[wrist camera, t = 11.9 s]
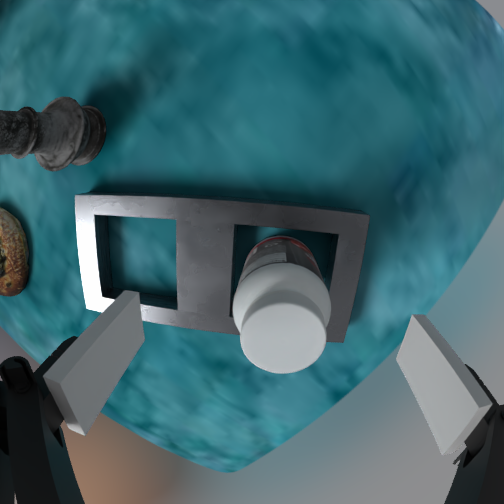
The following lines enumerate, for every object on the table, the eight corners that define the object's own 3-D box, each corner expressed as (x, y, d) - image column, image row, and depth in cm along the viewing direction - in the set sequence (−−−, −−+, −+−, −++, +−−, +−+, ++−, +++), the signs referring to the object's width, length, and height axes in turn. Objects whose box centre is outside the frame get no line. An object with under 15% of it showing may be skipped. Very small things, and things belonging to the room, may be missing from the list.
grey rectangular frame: (97, 299, 24) (86, 308, 22) (88, 192, 21) (74, 195, 19) (339, 329, 23) (343, 342, 21) (361, 210, 20) (370, 215, 18)
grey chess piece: (104, 169, 21) (-12, 187, 9) (56, 167, 21) (-50, 185, 9) (114, 100, 19) (3, 72, 7) (63, 105, 19) (-40, 93, 8)
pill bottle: (327, 279, 22) (358, 356, 12) (268, 311, 23) (262, 398, 14) (293, 220, 21) (307, 265, 11) (231, 256, 22) (200, 322, 13)
